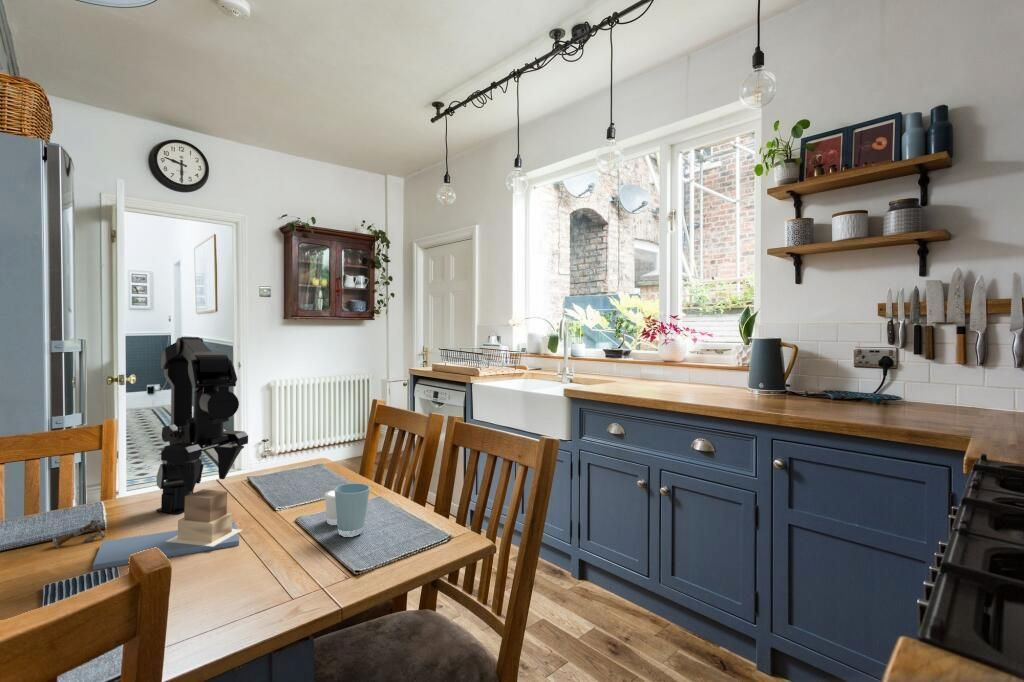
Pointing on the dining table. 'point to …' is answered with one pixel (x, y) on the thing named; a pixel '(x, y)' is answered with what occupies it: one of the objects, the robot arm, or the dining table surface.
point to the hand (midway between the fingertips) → (206, 484)
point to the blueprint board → (167, 542)
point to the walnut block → (205, 505)
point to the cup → (351, 505)
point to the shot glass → (330, 504)
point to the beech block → (204, 529)
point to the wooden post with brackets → (93, 524)
